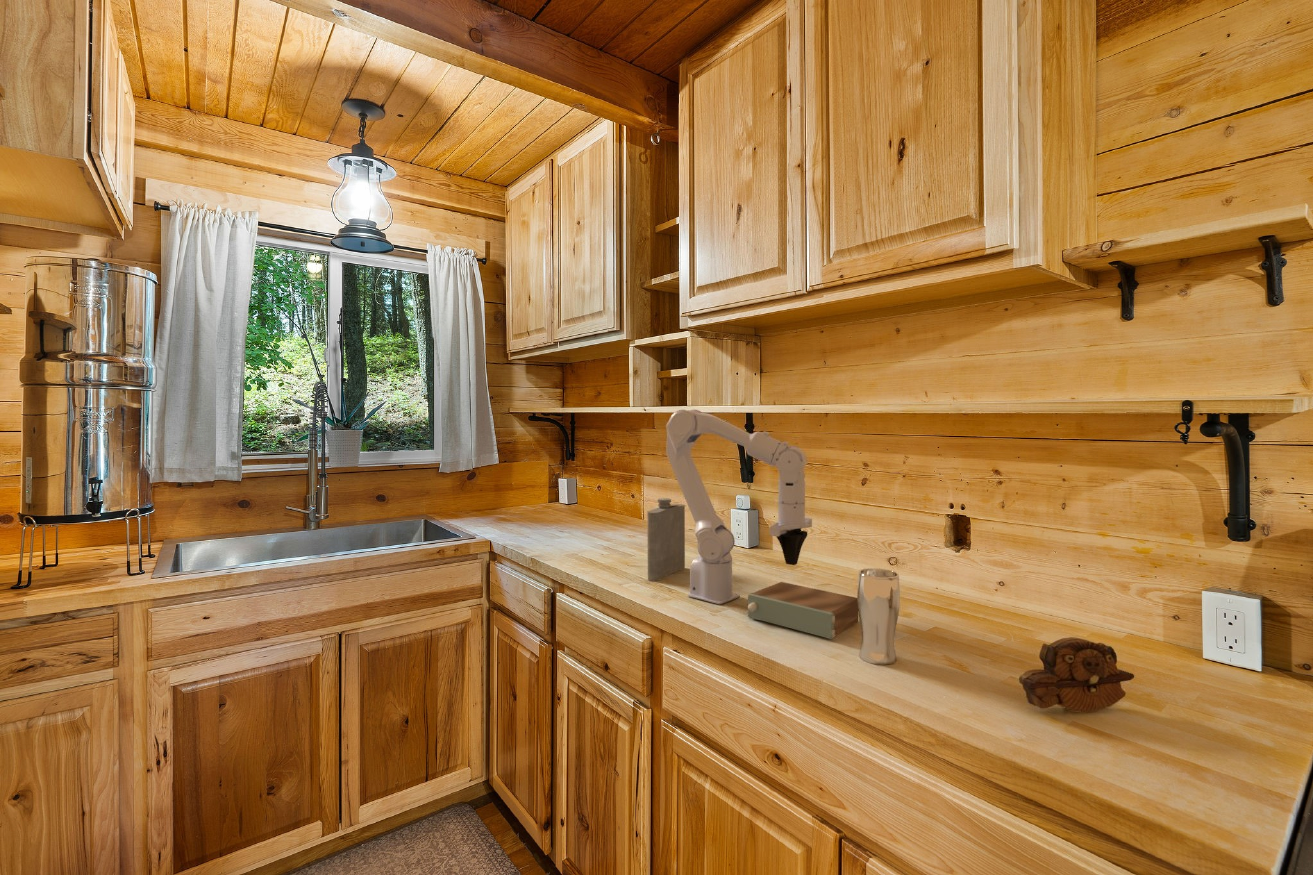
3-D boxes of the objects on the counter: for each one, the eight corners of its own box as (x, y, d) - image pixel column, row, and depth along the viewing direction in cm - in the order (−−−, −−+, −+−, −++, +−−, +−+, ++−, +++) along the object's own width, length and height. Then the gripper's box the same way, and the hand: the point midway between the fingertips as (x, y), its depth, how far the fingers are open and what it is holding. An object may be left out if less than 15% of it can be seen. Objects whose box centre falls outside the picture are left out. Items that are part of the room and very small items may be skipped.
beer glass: (865, 647, 113) (866, 565, 113) (904, 656, 109) (905, 571, 108) (850, 659, 108) (851, 573, 107) (891, 669, 103) (892, 580, 103)
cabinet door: (744, 618, 128) (744, 595, 128) (750, 615, 130) (750, 593, 129) (829, 641, 115) (829, 616, 115) (835, 637, 117) (835, 613, 116)
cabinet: (750, 617, 130) (750, 593, 130) (781, 603, 139) (781, 581, 138) (830, 638, 118) (830, 612, 117) (858, 622, 126) (858, 598, 126)
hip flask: (655, 581, 157) (655, 503, 156) (642, 579, 159) (641, 501, 158) (686, 568, 171) (686, 495, 170) (674, 566, 173) (673, 494, 172)
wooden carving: (1040, 723, 86) (1042, 652, 85) (1015, 708, 90) (1016, 639, 90) (1141, 712, 89) (1142, 643, 88) (1111, 697, 93) (1113, 631, 93)
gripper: (790, 508, 128) (790, 573, 129) (824, 500, 139) (824, 560, 139) (761, 504, 133) (761, 567, 133) (796, 497, 143) (796, 556, 144)
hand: (791, 564), depth 137 cm, fingers closed
